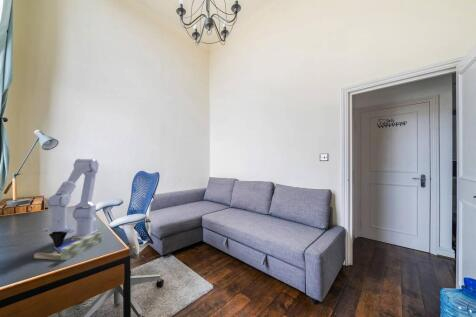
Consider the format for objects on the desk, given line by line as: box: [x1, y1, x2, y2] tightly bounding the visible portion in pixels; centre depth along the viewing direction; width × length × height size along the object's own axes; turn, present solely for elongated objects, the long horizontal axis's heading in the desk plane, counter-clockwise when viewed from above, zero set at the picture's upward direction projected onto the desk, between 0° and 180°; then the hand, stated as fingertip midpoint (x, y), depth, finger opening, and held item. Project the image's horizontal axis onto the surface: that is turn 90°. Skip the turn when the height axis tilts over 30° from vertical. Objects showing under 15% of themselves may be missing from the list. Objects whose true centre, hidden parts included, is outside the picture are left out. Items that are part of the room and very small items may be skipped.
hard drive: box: [53, 240, 76, 254], centre depth 96 cm, size 2×8×12 cm
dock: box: [33, 231, 102, 261], centre depth 95 cm, size 19×16×5 cm
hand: (58, 246), depth 95 cm, fingers closed, pressing on hard drive
